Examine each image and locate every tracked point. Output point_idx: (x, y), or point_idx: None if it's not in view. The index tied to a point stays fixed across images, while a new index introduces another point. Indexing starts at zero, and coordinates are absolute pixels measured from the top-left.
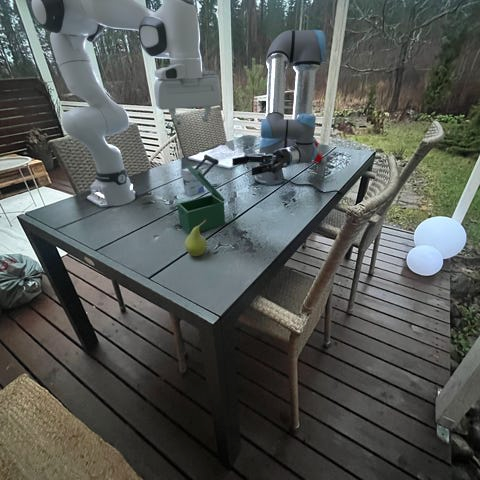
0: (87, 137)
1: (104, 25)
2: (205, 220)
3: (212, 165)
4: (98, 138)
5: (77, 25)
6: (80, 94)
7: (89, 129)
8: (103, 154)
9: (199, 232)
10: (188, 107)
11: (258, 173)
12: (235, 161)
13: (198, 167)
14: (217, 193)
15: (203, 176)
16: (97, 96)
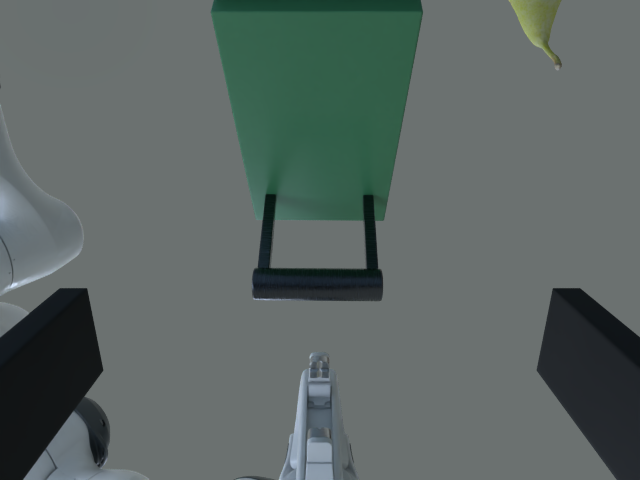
0: (57, 209)
1: (125, 478)
2: (560, 66)
3: (377, 261)
4: (38, 211)
5: (59, 446)
6: (14, 309)
7: (59, 232)
8: (13, 160)
9: (552, 17)
10: (337, 426)
11: (636, 347)
12: (78, 356)
13: (273, 218)
14: (406, 89)
15: (387, 200)
16: (2, 324)
